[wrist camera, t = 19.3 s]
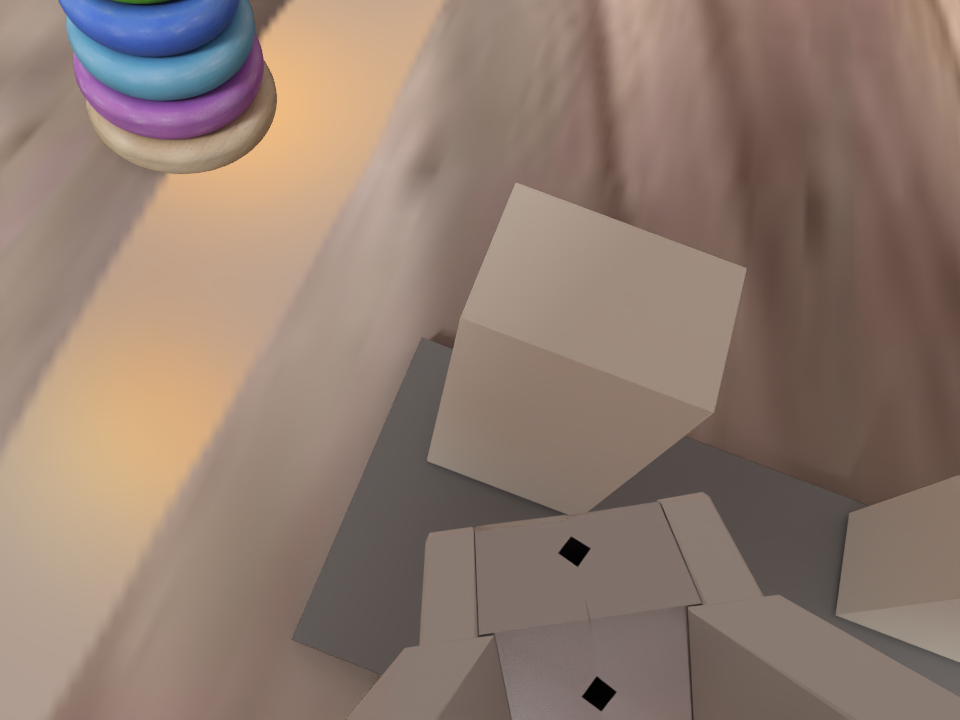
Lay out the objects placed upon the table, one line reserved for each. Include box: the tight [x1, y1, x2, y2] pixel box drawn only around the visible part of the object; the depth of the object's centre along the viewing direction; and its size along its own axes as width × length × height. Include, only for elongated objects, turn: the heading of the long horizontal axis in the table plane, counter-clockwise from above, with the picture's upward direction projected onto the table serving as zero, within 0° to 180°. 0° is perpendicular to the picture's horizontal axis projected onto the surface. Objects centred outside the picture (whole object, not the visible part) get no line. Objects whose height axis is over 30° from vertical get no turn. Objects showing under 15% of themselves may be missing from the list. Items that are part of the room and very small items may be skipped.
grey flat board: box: [292, 338, 960, 697], centre depth 27 cm, size 12×42×1 cm, turn 71°
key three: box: [427, 183, 747, 515], centre depth 23 cm, size 4×6×12 cm
